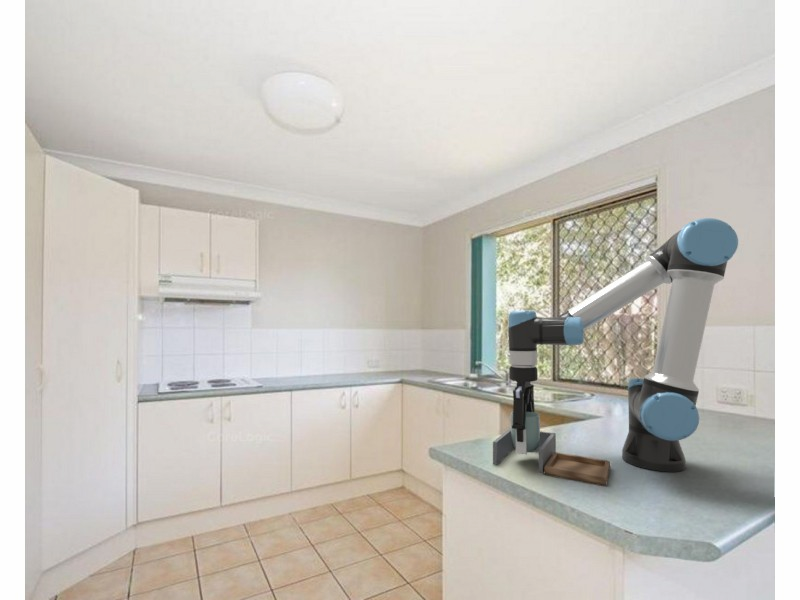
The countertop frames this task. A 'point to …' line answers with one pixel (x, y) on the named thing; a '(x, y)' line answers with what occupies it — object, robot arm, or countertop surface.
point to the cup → (529, 431)
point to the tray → (578, 468)
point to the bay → (545, 451)
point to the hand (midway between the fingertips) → (525, 449)
